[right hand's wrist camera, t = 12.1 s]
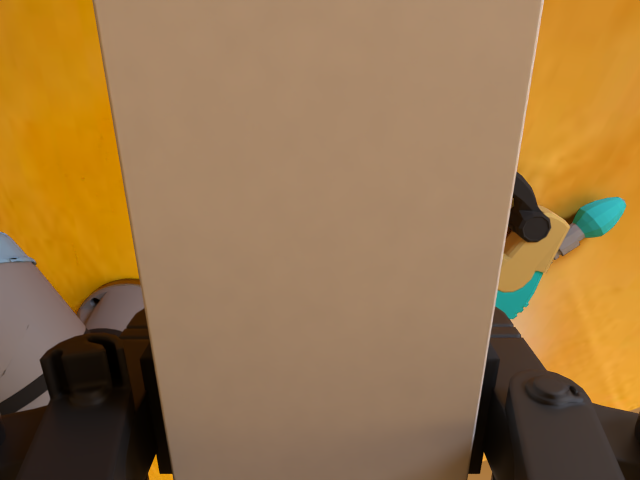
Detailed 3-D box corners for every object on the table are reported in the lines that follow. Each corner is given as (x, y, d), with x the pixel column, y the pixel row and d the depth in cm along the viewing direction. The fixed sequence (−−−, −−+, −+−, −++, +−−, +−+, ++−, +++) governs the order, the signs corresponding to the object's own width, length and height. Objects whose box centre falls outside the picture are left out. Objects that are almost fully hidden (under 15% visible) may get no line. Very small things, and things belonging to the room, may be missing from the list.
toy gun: (386, 311, 54) (480, 371, 57) (544, 129, 46) (643, 210, 49) (381, 293, 58) (469, 350, 61) (526, 123, 50) (618, 199, 53)
